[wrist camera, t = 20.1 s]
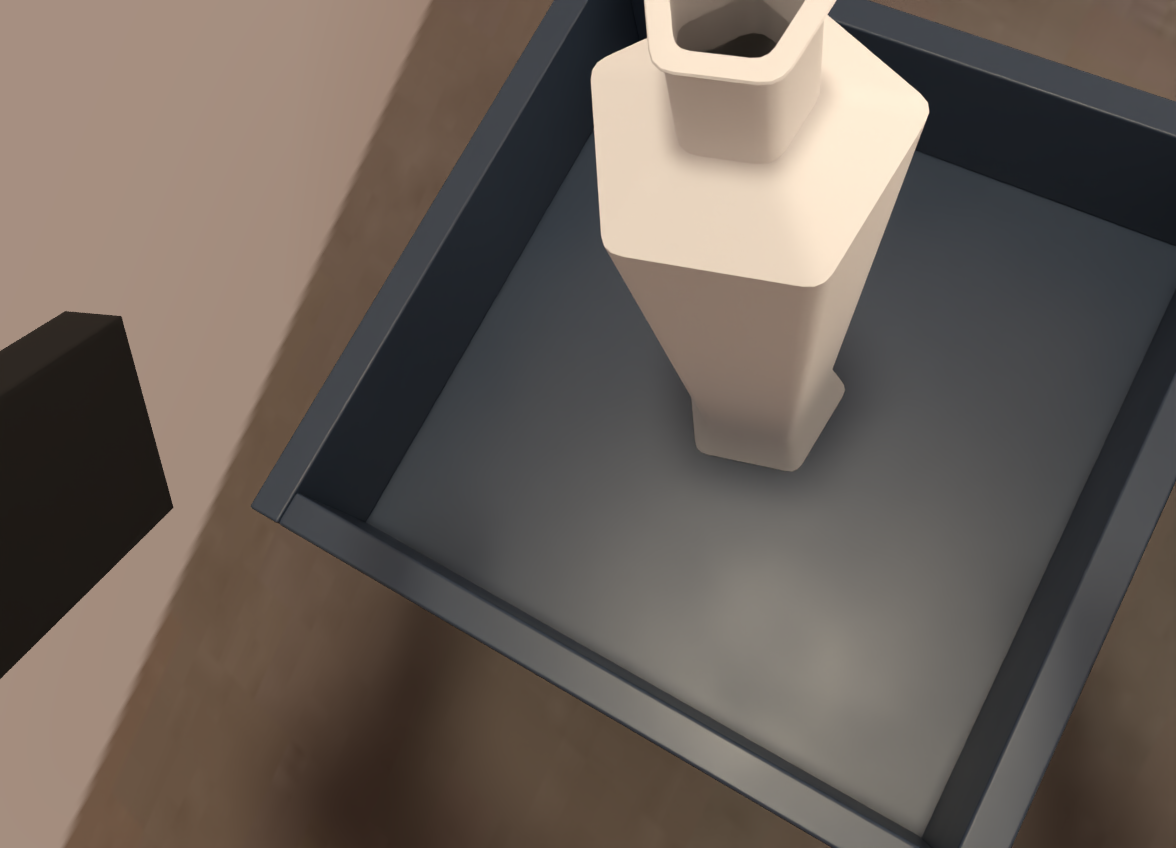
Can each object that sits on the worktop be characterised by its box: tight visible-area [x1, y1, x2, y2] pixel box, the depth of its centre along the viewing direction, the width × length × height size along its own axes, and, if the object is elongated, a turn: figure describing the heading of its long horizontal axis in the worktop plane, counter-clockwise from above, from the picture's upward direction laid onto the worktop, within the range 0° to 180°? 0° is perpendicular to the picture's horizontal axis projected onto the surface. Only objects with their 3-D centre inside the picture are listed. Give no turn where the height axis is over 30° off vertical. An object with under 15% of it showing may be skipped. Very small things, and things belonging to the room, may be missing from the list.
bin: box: [251, 0, 1176, 848], centre depth 24 cm, size 17×17×5 cm
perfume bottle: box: [591, 0, 929, 471], centre depth 18 cm, size 5×4×15 cm
